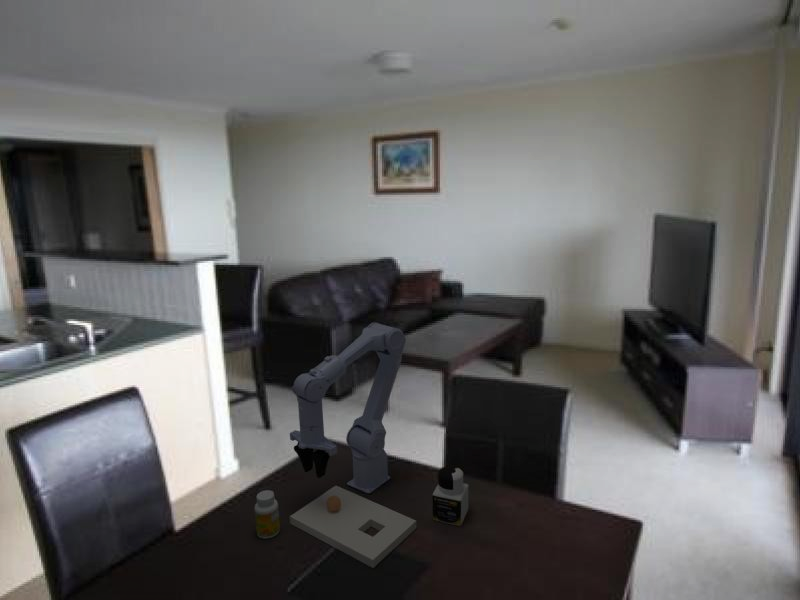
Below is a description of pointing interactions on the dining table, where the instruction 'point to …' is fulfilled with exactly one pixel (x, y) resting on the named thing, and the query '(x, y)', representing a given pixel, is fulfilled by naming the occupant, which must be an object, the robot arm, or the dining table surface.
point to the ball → (333, 503)
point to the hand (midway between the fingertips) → (314, 473)
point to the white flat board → (354, 525)
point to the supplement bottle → (267, 515)
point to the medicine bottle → (450, 496)
